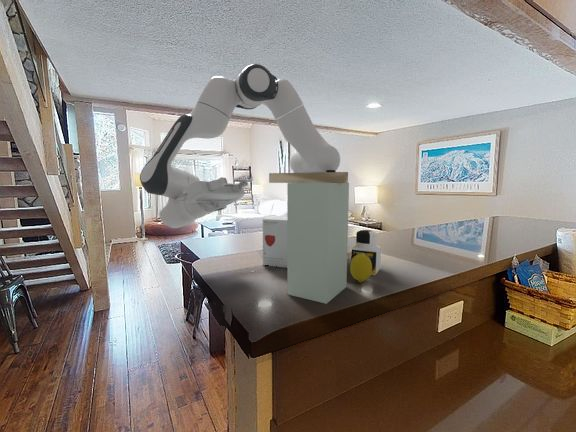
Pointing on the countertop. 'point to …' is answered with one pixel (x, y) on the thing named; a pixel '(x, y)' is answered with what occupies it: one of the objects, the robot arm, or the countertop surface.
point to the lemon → (361, 267)
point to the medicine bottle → (368, 248)
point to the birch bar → (309, 177)
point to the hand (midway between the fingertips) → (236, 181)
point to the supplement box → (275, 241)
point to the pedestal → (317, 240)
